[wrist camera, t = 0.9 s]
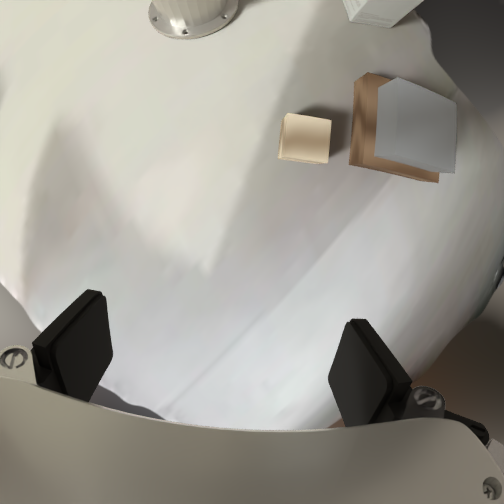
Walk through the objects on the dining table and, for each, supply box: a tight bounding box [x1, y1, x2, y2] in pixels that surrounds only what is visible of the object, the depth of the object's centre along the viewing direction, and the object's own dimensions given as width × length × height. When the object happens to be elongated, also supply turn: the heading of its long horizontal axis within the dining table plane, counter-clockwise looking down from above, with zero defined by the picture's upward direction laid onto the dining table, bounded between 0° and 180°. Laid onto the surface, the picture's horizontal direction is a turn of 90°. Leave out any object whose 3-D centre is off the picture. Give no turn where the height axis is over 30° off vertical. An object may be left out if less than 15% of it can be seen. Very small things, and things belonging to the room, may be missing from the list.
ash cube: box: [278, 113, 331, 164], centre depth 31 cm, size 5×5×5 cm
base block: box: [349, 72, 439, 183], centre depth 31 cm, size 12×12×5 cm
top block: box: [374, 77, 457, 173], centre depth 26 cm, size 9×9×5 cm
